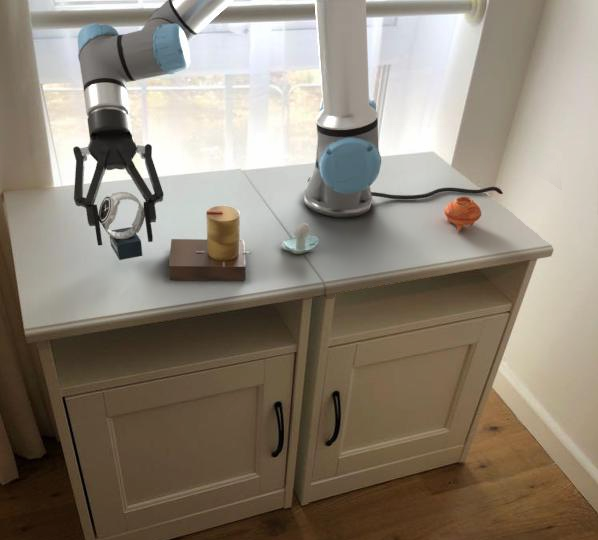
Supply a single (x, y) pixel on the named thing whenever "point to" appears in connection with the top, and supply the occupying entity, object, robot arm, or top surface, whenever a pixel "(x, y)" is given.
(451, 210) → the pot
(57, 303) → the top surface
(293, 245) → the pacifier
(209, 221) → the dial
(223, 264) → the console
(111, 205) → the watch
